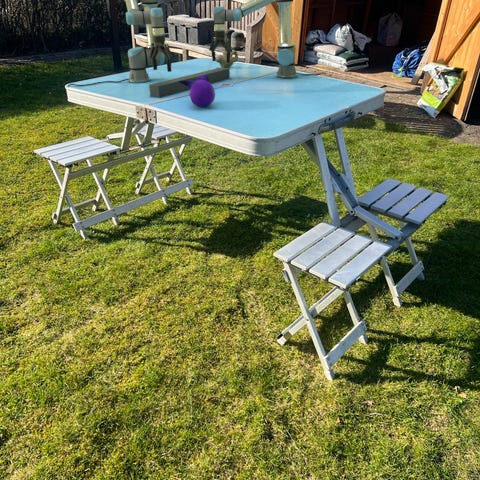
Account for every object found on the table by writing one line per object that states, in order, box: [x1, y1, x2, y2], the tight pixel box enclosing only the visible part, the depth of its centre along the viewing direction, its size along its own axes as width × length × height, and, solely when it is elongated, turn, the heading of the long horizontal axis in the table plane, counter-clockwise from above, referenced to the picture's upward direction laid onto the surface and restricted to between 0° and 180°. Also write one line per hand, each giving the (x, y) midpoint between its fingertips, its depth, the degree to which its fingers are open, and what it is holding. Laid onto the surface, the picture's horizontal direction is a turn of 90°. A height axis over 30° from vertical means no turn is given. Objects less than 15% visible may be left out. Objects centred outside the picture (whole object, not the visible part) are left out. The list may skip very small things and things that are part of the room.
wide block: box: [148, 67, 231, 99], centre depth 317 cm, size 74×9×7 cm, turn 143°
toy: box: [179, 76, 216, 109], centre depth 267 cm, size 16×18×27 cm
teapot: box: [215, 48, 239, 69], centre depth 378 cm, size 21×12×15 cm, turn 120°
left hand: (162, 70), depth 295 cm, fingers open, 13 cm apart
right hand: (221, 61), depth 335 cm, fingers open, 13 cm apart
